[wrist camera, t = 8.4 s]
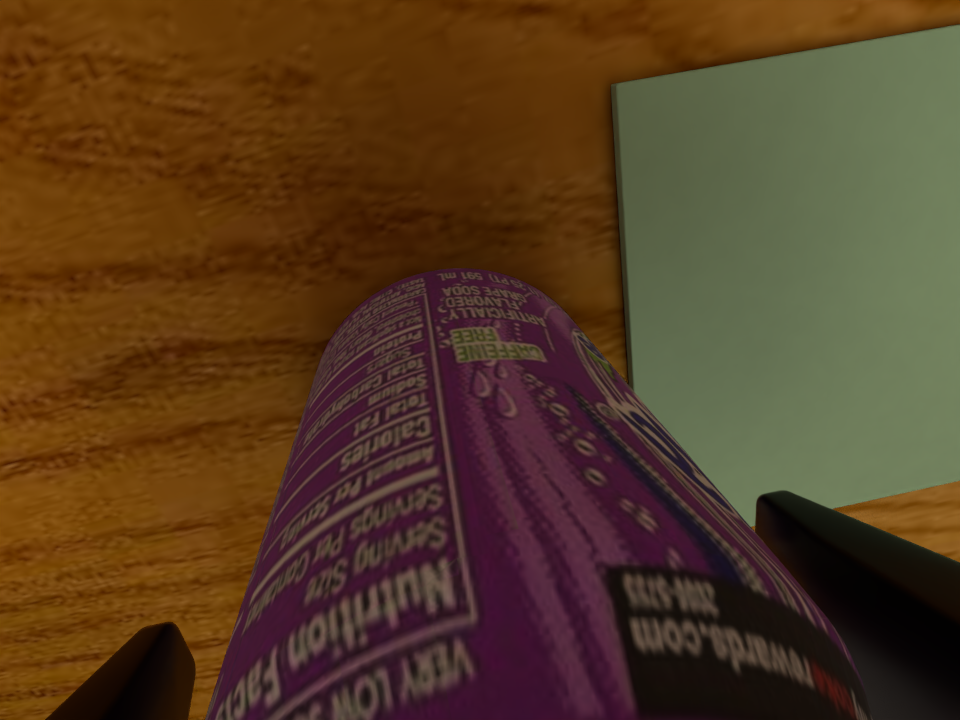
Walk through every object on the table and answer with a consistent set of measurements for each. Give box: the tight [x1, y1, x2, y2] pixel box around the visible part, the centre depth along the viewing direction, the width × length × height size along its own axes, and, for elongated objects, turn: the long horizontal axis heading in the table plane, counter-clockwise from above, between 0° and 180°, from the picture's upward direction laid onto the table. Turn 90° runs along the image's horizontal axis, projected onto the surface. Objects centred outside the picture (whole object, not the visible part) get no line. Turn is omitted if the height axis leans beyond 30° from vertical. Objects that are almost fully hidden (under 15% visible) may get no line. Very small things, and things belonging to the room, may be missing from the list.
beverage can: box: [205, 268, 873, 720], centre depth 10 cm, size 7×7×12 cm
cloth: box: [611, 24, 960, 527], centre depth 16 cm, size 13×12×1 cm
